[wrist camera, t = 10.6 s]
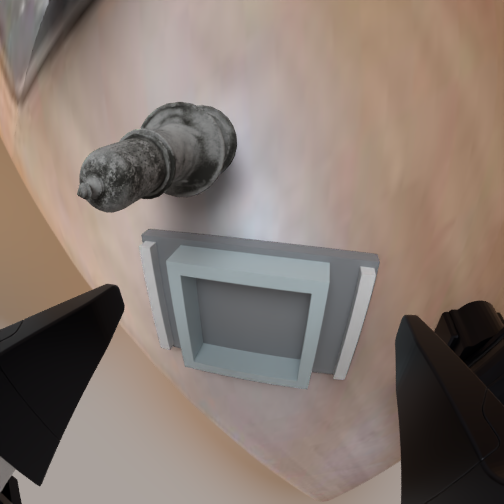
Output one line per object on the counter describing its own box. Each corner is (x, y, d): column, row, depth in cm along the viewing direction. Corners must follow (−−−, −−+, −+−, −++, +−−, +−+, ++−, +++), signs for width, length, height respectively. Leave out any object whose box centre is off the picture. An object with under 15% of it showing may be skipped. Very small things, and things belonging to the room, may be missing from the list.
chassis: (377, 254, 21) (384, 281, 17) (346, 366, 26) (345, 396, 23) (148, 228, 24) (124, 248, 21) (168, 336, 30) (152, 360, 27)
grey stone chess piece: (164, 100, 19) (27, 120, 9) (244, 103, 18) (141, 110, 8) (162, 177, 22) (45, 250, 11) (237, 187, 21) (149, 280, 11)
